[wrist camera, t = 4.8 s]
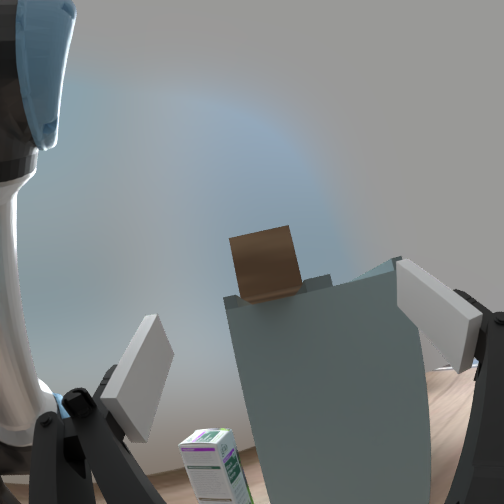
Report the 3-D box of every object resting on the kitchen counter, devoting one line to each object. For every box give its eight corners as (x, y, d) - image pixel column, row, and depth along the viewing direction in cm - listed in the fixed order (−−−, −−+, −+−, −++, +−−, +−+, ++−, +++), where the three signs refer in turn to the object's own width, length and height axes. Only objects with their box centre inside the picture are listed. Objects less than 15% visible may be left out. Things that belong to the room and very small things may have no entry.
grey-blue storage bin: (282, 546, 21) (223, 297, 28) (282, 476, 40) (245, 306, 48) (429, 504, 20) (401, 256, 27) (383, 450, 40) (354, 281, 47)
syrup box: (244, 525, 27) (218, 442, 30) (204, 522, 28) (176, 442, 31) (254, 504, 32) (233, 426, 36) (218, 503, 33) (194, 428, 37)
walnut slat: (302, 284, 19) (288, 225, 20) (240, 298, 19) (229, 238, 20) (287, 304, 47) (282, 280, 48) (262, 310, 47) (257, 285, 48)
